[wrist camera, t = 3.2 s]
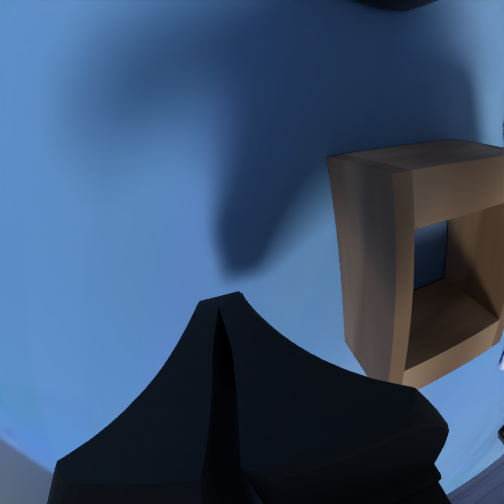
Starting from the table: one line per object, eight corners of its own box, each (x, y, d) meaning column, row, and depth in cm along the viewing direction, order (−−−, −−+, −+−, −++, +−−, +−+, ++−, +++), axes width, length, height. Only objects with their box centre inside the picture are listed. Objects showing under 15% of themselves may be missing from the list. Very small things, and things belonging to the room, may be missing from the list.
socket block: (454, 139, 10) (527, 153, 7) (450, 299, 14) (499, 341, 10) (326, 157, 10) (391, 174, 6) (345, 341, 13) (385, 404, 10)
